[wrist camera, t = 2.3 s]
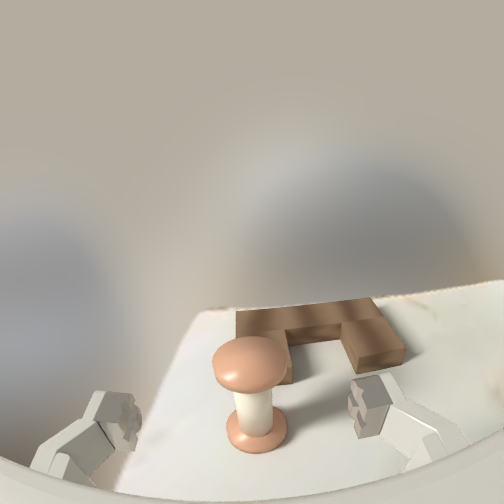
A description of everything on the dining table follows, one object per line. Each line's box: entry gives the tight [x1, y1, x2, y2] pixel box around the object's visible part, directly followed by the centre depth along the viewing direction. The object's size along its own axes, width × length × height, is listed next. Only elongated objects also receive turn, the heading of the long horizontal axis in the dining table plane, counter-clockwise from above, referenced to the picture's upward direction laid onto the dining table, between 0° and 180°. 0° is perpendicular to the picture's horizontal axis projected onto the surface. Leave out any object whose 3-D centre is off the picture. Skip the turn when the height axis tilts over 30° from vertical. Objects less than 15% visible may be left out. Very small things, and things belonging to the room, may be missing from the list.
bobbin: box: [212, 336, 287, 454], centre depth 28 cm, size 6×6×11 cm
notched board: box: [236, 297, 406, 386], centre depth 42 cm, size 22×14×3 cm, turn 93°
